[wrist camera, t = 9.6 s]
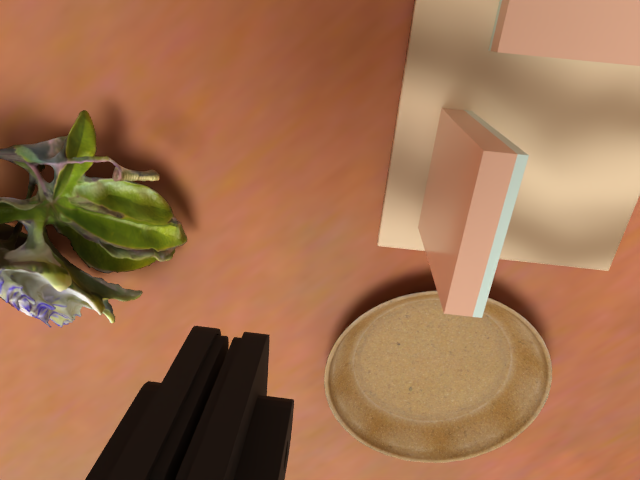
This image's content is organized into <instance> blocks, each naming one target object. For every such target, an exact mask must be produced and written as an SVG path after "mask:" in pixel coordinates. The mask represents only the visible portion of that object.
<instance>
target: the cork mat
mask: <svg viewBox="0 0 640 480" xmlns="http://www.w3.org/2000/svg"><path fill="white" fill-rule="evenodd" d="M499 1H500V0H415V3H414V9H413V16H412V22H411V29H410V35H409V42H408V48H407V54H406V61H405V67H404V74H403V80H402V87H401V93H400V99H399V106H398V112H397V119H396V125H395V132H394V138H393V144H392V151H391V157H390V164H389V170H388V176H387V183H386V189H385V196H384V202H383V209H382V215H381V221H380V228H379V234H378V241H377V243H378V246H383V247H393V248H402V249H411V250H420V251H425V249H424V246H423V243H422V239H421V236H420V233H419V229H418V225H419V220H420V214H421V209H422V204H423V199H424V194H425V189H426V184H427V179H428V174H429V168H430V163H431V158H432V153H433V148H434V143H435V138H436V133H437V128H438V122H439V117H440V112H441V108H448V109H458V110H468V111H472V112H474V113H475V114H476V115H477V116H479V117H480V118H481V119H483V120H484V121H485V122H486V123H488V124H489V125H490V126H492V127H493V128H494V129H496V130H497V131H498V132H499V133H501V134H502V135H503V136H505V137H506V138H507V139H508V140H510V141H511V142H512V143H514V144H515V145H516V146H517V147H519V148H520V149H521V150H523V151H524V152H525V153H527V154H528V155H529V157H528V160H527V164H526V167H525V171H524V174H523V178H522V181H521V185H520V188H519V192H518V195H517V199H516V202H515V205H514V209H513V212H512V216H511V219H510V223H509V226H508V230H507V233H506V237H505V240H504V244H503V247H502V250H501V254H500V257H499V259H504V260H513V261H522V262H532V263H541V264H550V265H559V266H569V267H578V268H587V269H596V270H606V271H609V268H610V266H611V263H612V261H613V258H614V256H615V254H616V251H617V249H618V246H619V244H620V241H621V239H622V236H623V234H624V232H625V229H626V227H627V224H628V222H629V219H630V217H631V215H632V212H633V210H634V207H635V205H636V202H637V200H638V198H639V195H640V66H634V65H624V64H613V63H603V62H592V61H582V60H572V59H561V58H551V57H540V56H530V55H520V54H509V53H499V52H493V51H489V46H490V41H491V37H492V32H493V28H494V23H495V19H496V15H497V10H498V6H499Z"/></svg>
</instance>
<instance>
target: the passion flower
mask: <svg viewBox="0 0 640 480" xmlns="http://www.w3.org/2000/svg"><path fill="white" fill-rule="evenodd" d="M96 150H97V147H96V132H95V129H94V125H93V122H92V120H91V117H90V115H89V113H88V112H87V111H86V110H83V111H81V112H80V113H79V116H78V118H77V119H76V121H75V123H74V125H73V126H72V128H71V130H70V132H69V134H68V136H63V137H58V138H54V139H51V140H47V141H44V142H40V143H36V144H21V145H14V146H11V147H9V148H4V149H0V159H4V160H8V161H10V162H12V163H14V164H17V165H19V166H20V167H22V168H23V169H25V170H26V171H27V172H28V173H29V186H28V193H27V197H26V199H24V200H22V199H16V198H9V197H1V198H0V298H1V299H3V300H4V301H5V302H6V303H9V304H11V305H12V306H13V307H15V308H17V310H20V311H21V312H24V313H25V314H26V315H29V316H32V317H35V318H38V319H40V320H42V321H43V322H44V323H45V324H47V325H48V326H49V327H51V326H50V325H49V324H48V321H49V319H51V320H52V321H53V322H54V323H56V324H57V325H58V326H61V327H62V326H63V325H64V324H65V325H67V324H69V322H71V323H72V322H73V320H75V316H80V317H81V313H80V309H81V308H82V307H86V308H90V309H93V310H95V311H97V312H98V313H99V315H102V313H103V314H105V315H106V317H107V318H108V319H109V320H110V323H114V322H115V316H114V314H113V309H112V306H111V305H110V304H109V303H108V299H117V300H119V301H130V300H135V299H137V298H138V297H140V296H141V294H142V293H143V292H142V291H140V290H139V291H134V290H131V289H124V288H122V287H121V286H120V285H119V284H113V283H107V282H106V281H104V280H103V279H102V278H97V277H92V276H91V275H89V274H87V273H85V272H84V271H82V270H81V269H79V268H77V267H76V266H74V265H73V264H71V263H70V262H69V261H68V260H67V259H66V258H64V257H63V256H62V255H61V254H60V253H59V251H58V250H57V249H56V248H55V247H54V245H53V244H52V242H51V241H50V240H49V238H48V235H47V231H46V228H45V226H46V225H49V224H50V225H53V226H54V227H55V229H56V231H57V232H58V233H60V234H63V236H66V237H67V238H68V239H69V240H70V241H71V246H72V247H73V250H74V251H76V252H77V254H78V255H79V257H80V258H81V259H82V260H83V261H84V263H85V264H87V266H88V267H93V268H94V269H96V270H98V271H100V272H103V273H111V272H113V271H114V272H117V273H118V272H128V271H133V270H136V269H140V268H143V267H145V266H150V264H151V263H153V262H155V261H156V260H158V261H160V262H161V261H166V260H167V261H168V260H170V259H172V257H173V254H174V253H175V247H177V246H181V245H183V244H185V243H186V242H187V236H186V235H185V233H184V230H183V228H182V225H181V223H180V222H179V221H177V219H176V218H175V216H174V215H173V212H172V209H171V207H170V206H169V205H168V203H167V202H166V200H165V199H164V198H163V197H162V196H161V195H160V194H159V193H157V192H156V191H155V190H153V189H152V188H150V187H148V186H145V185H143V184H139V183H136V182H132V181H136V180H140V181H147V180H150V181H158V180H159V178H160V175H159V173H157V172H156V171H155V170H148V171H145V172H144V171H134V170H129V169H126V168H124V167H122V166H120V165H118V164H117V163H116V162H115V161H114V160H112V159H111V158H109V157H108V156H104V157H103V156H95V153H96ZM106 161H109V162H111V163H113V165H115V166H116V167H115V170H114V172H113V176H112V178H99V177H87V176H86V175H85V173H86V171H88V170H89V169H90V168H91V166H92V165H93V163H94V162H106ZM45 165H50V166H52V167H53V169H54V180H53V181H52V182H51V183H48V182H46V181H45V180H44V179H43V177H42V175H41V173H40V172H41V171H42V170H43V169H45ZM36 184H37V185H38V191H37V194H36V195H35V196H34V197H32V198H31V196H32V193H33V191H34V189H35V185H36ZM14 221H18V223H17V224H16V226H15V227H12V226H10V225H7V224H5V223H9V222H14ZM22 225H24V226H25V228H26V230H27V231H28V234H25V233H23V232H21V230H22Z"/></svg>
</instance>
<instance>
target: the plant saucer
mask: <svg viewBox="0 0 640 480" xmlns="http://www.w3.org/2000/svg"><path fill="white" fill-rule="evenodd" d="M551 382H552V365H551V359H550V355H549V352H548V349H547V346H546V344H545V342H544V341H543V339H542V337H541V336H540V334H539V333H538V332H537V330H536V329H535V328H534V327H533V326H532V325H531V324H530V323H529V322H528V321H527V320H526V319H525V318H524V317H523V316H521V315H520V314H519V313H517V312H516V311H514V310H513V309H511V308H509V307H508V306H506V305H504V304H502V303H500V302H498V301H495V300H493V299H491V298H488V299H487V302H486V306H485V309H484V313H483V316H482V318H478V317H469V316H460V315H451V314H444V312H443V309H442V306H441V302H440V299H439V296H438V292H437V291H424V292H418V293H412V294H408V295H404V296H400V297H397V298H394V299H391V300H389V301H386V302H384V303H382V304H379V305H378V306H376V307H374V308H372V309H370V310H369V311H367V312H365V313H364V314H362V315H361V316H360V317H358V318H357V319H356V320H355V321H354V322H352V323H351V324H350V325H349V326H348V327H347V328H346V329H345V330H344V332H343V333H342V334H341V335H340V336H339V338H338V339H337V341H336V342H335V344H334V346H333V348H332V350H331V352H330V354H329V357H328V360H327V363H326V367H325V375H324V386H325V393H326V397H327V401H328V404H329V407H330V409H331V411H332V413H333V414H334V416H335V418H336V419H337V421H338V422H339V423H340V424H341V426H342V427H343V428H344V429H345V430H346V431H347V432H348V433H349V434H350V435H352V436H353V437H354V438H355V439H357V440H358V441H359V442H361V443H362V444H364V445H365V446H367V447H370V448H371V449H373V450H375V451H378V452H380V453H383V454H385V455H387V456H390V457H395V458H399V459H403V460H407V461H415V462H425V463H427V462H430V463H443V462H452V461H459V460H465V459H469V458H472V457H476V456H479V455H481V454H484V453H487V452H490V451H492V450H495V449H497V448H499V447H501V446H503V445H505V444H506V443H508V442H510V441H511V440H512V439H514V438H515V437H517V436H518V435H519V434H520V433H522V432H523V431H524V430H525V429H526V428H527V427H528V426H529V425H530V424H531V423H532V422H533V421H534V420H535V419H536V417H537V416H538V414H539V413H540V411H541V409H542V408H543V406H544V405H545V402H546V400H547V398H548V395H549V391H550V387H551Z"/></svg>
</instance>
